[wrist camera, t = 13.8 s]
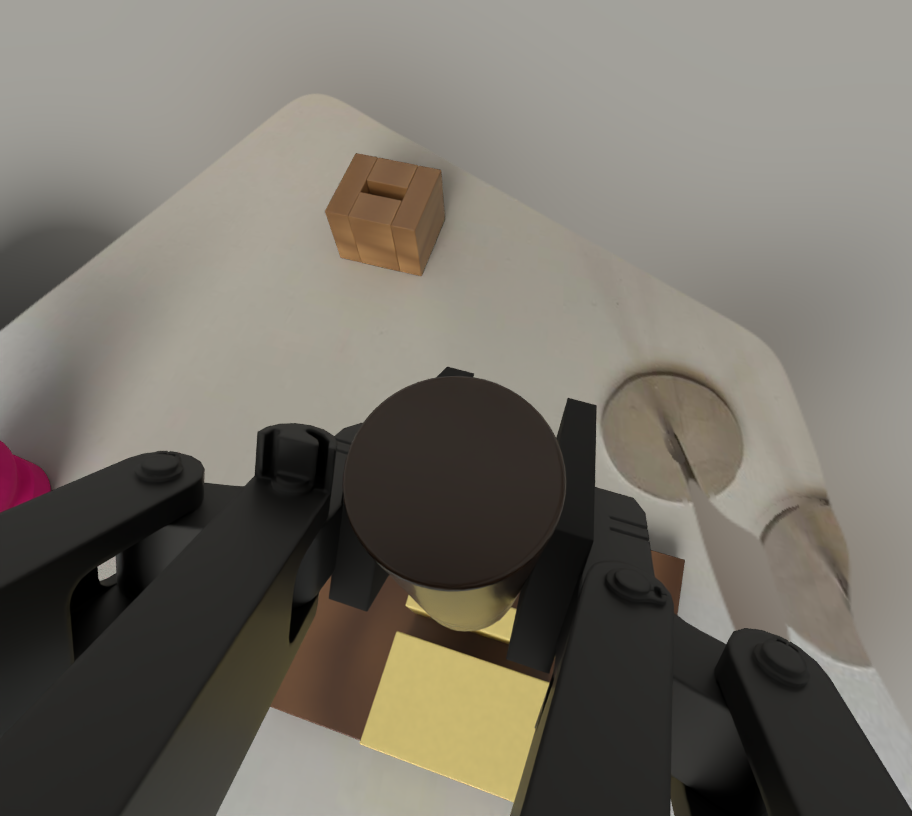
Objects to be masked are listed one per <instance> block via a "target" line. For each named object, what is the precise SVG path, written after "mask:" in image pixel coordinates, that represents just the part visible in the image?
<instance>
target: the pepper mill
mask: <svg viewBox="0 0 912 816" xmlns="http://www.w3.org/2000/svg"><path fill="white" fill-rule="evenodd" d="M50 491H51V487H50V483H49V479H48V477H47V475H46V474H45V472H44V471H43V470H42V469H41V468H40V467H39V466H37V465H35V464H33V463H31V462H29V461H27V460H24V459H22V458H20V457H17V456H15V455H12V453H11V451H10V450H9V448H8V447H7V446H6V445H5V444H4V443H3V442H2V441H0V512H3V511H5V510H8V509H10V508H12V507H15V506H17V505H19V504H22V503H24V502H26V501H29V500H31V499H33V498H36V497H38V496H41V495H43V494H45V493H48V492H50Z"/></svg>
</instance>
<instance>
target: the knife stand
mask: <svg viewBox="0 0 912 816" xmlns="http://www.w3.org/2000/svg"><path fill="white" fill-rule="evenodd" d="M325 213H326V216H327V219H328V222H329V225H330V227H331V230H332V233H333V236H334V239H335V242H336V245H337V248H338V251H339V254H340V257H341V258H345V259H349V260H353V261H358V262H362V263H366V264H370V265H374V266H379V267H383V268H387V269H392V270H396V271H401V272H406V273H410V274H414V275H419V276H422V274H423V271H424V269H425V266H426V264H427V261H428V259H429V257H430V254H431V252H432V249H433V247H434V245H435V242H436V240H437V237H438V235H439V232H440V230H441V228H442V225H443V223H444V220H445V214H444V201H443V188H442V175H441V170H438V169H433V168H428V167H423V166H418V165H414V164H408V163H403V162H398V161H393V160H388V159H383V158H377V157H373V156H368V155H363V154H358V153H356V154H355V156H354V157H353V159H352V161H351V163H350V165H349V167H348V169H347V171H346V173H345V174H344V176H343V178H342V180H341V182H340V184H339V186H338V188H337V189H336V191H335V193H334V195H333V197H332V199H331V201H330V203H329V205H328V206H327V208H326V210H325Z"/></svg>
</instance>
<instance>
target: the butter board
mask: <svg viewBox="0 0 912 816" xmlns="http://www.w3.org/2000/svg"><path fill="white" fill-rule="evenodd" d="M651 554H652V561H653V567H654V574H655V578H657V579H658V580H659V581H661V582H662V583H663V584H664V586H665V587H666V588H667V590H668V591H669V592H670V593H671V596H672V599H673V603H674V613H675V614H676V615H677V613H678V606H679V599H680V592H681V585H682V578H683V571H684V563H685V560H683V559H680V558H676V557H673V556H670V555H666V554H663V553H659V552H656V551H652V550H651ZM331 576H332V575H331ZM331 576H330V578H329V579H328V580H327V582H326V583H325V584H324V586H323V587H322V589H321V590H320V591H319V598H318V606H317V611H316V615H315V617H314V619H313V621H312V623H311V625H310V627H309V629H308V631H307V633H306V635H305V637H304V639H303V641H302V643H301V645H300V647H299V649H298V651H297V653H296V655H295V657H294V659H293V661H292V663H291V665H290V667H289V669H288V671H287V673H286V675H285V677H284V679H283V681H282V683H281V685H280V687H279V689H278V691H277V693H276V695H275V697H274V699H273V701H272V703H271V705H270V707H272V708H275V709H278V710H280V711H283V712H286V713H288V714H291V715H294V716H296V717H299V718H302V719H304V720H307V721H310V722H312V723H315V724H317V725H320V726H323V727H325V728H328V729H331V730H333V731H336V732H339V733H341V734H344V735H347V736H349V737H352V738H355V739H357V740H360V741H361V737H362V734H363V731H364V728H365V725H366V722H367V719H368V716H369V713H370V710H371V707H372V704H373V701H374V698H375V695H376V692H377V689H378V686H379V683H380V680H381V677H382V674H383V671H384V668H385V665H386V662H387V659H388V656H389V653H390V650H391V647H392V644H393V641H394V637H395V634H396V632H397V631H399V632H402V633H405V634H408V635H411V636H414V637H417V638H420V639H422V640H425V641H428V642H431V643H434V644H437V645H440V646H443V647H446V648H449V649H452V650H455V651H458V652H461V653H464V654H467V655H470V656H473V657H475V658H478V659H481V660H484V661H487V662H490V663H493V664H496V665H499V666H502V667H505V668H508V669H511V670H514V671H517V672H520V673H523V674H525V675H528V676H531V677H534V678H537V679H540V680H543V681H546V682H549V683H550V680H551V677H552V674H553V671H554V664H555V658H554V661H553V664H552V667H551V670H550V673H549V674H548V673H545V672H542V671H539V670H536V669H533V668H531V667H528V666H525V665H522V664H519V663H516V662H513V661H510V660H507V659H506V656H507V652H508V647H509V644H506V643H503V642H500V641H497V640H494V639H491V638H488V637H485V636H482V635H479V634H476V633H473V632H470V631H457V630H453V629H450V628H447V627H445V626H443V625H441V624H439V623H438V622H436V621H435V620H434V619H431V618H428V617H425V616H422V615H419V614H416V613H414V612H413V611H412V610H410V609H409V608H408V607H407V606H406V601H407V598H408V595H409V594H408V593H407V592H406V591H405V590H404V589H403V588H402V587H401V586H400V585H399V584H398V583H397V582H396V581H395V580H394V579H393V578H392V577H391V576H390V575H389V576H388V578H387V579H386V581H385V583H384V584H383V586H382V588H381V589H380V591H379V593H378V595H377V596H376V598H375V600H374V601H373V603H372V605H371V606H370V608H369V610H368V612H366V611H363V610H360V609H357V608H354V607H351V606H348V605H346V604H343V603H340V602H337V601H334V600H331V599H329V591H330V583H331ZM519 595H520V592H519V594H518V596H517V598H516V599H515V601H514V603H513V605H512V606H511V607H512V608H515V609H517V605H518V600H519Z"/></svg>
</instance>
